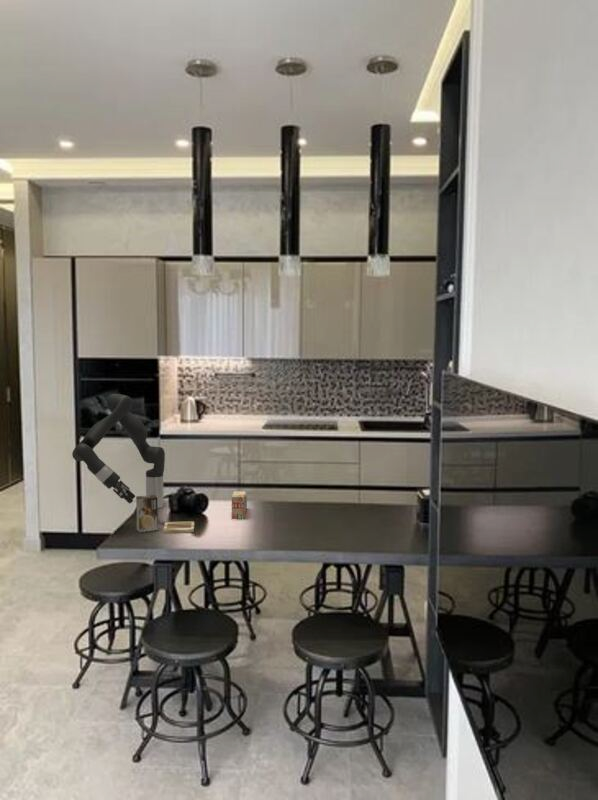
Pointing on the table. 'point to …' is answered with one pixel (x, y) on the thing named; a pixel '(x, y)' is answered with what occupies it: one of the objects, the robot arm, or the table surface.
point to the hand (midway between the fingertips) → (132, 500)
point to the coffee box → (147, 513)
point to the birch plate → (178, 527)
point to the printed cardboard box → (239, 504)
